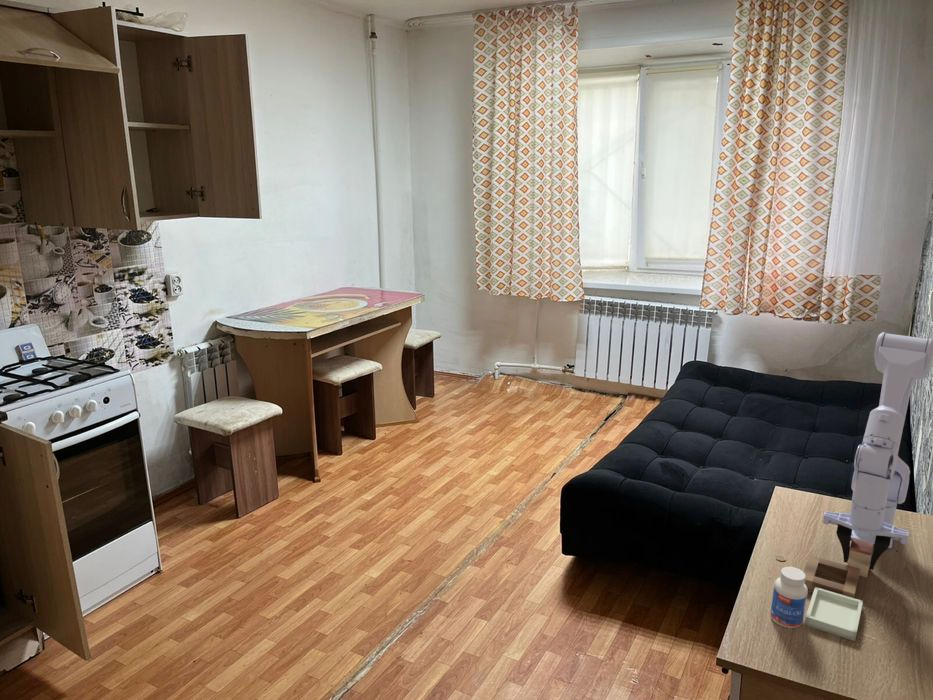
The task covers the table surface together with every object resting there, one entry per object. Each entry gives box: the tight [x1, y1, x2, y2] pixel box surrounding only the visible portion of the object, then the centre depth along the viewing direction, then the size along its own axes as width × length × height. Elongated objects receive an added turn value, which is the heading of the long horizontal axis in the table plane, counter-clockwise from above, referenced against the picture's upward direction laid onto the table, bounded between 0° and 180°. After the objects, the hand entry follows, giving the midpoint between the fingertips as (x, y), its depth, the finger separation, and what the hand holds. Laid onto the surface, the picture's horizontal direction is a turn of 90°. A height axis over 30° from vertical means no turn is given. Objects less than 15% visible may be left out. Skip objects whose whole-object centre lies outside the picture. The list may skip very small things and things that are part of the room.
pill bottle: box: [770, 566, 809, 629], centre depth 126 cm, size 6×5×10 cm
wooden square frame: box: [803, 554, 860, 599], centre depth 136 cm, size 9×9×2 cm
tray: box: [804, 587, 864, 642], centre depth 127 cm, size 10×8×2 cm
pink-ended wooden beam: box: [847, 539, 874, 578], centre depth 140 cm, size 4×4×6 cm
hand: (858, 563), depth 140 cm, fingers open, 4 cm apart
